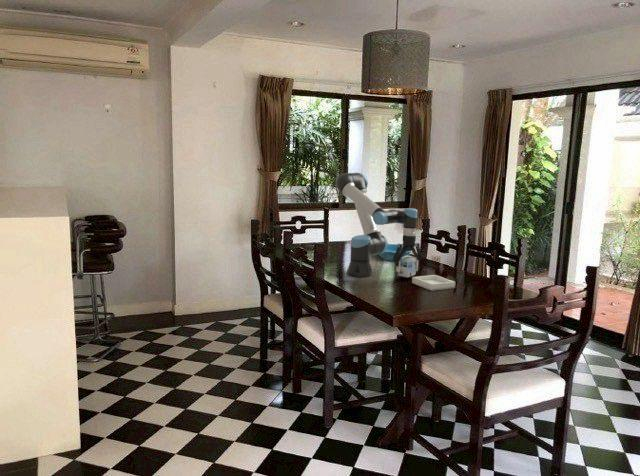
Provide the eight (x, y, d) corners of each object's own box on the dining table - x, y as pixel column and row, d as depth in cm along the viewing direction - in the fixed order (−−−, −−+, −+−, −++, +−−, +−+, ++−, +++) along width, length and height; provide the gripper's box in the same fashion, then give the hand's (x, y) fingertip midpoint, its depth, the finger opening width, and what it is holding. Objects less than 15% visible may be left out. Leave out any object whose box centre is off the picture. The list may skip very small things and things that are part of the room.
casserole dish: (371, 252, 381) (372, 242, 380) (400, 252, 383) (401, 242, 382) (382, 262, 345) (382, 252, 344) (414, 262, 347) (414, 252, 346)
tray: (431, 290, 273) (432, 284, 272) (412, 283, 289) (412, 277, 288) (455, 288, 280) (455, 282, 279) (434, 280, 296) (434, 274, 295)
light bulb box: (407, 277, 292) (408, 259, 290) (397, 275, 296) (398, 257, 294) (415, 274, 300) (417, 256, 299) (405, 272, 304) (407, 255, 303)
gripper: (395, 236, 285) (393, 274, 289) (430, 235, 296) (427, 271, 300) (388, 234, 292) (386, 271, 296) (422, 233, 302) (419, 268, 306)
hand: (406, 271), depth 298 cm, fingers closed on light bulb box, 12 cm apart
